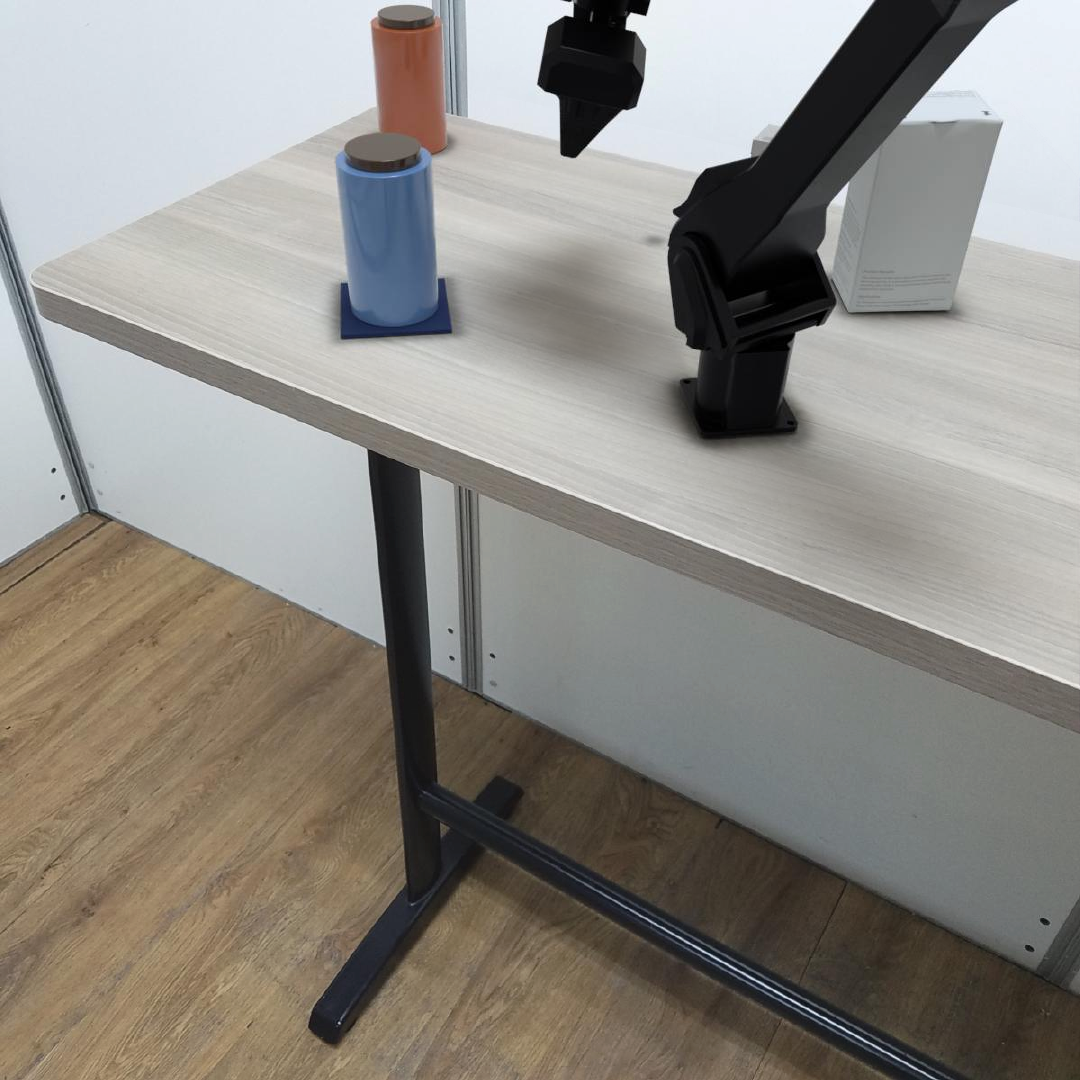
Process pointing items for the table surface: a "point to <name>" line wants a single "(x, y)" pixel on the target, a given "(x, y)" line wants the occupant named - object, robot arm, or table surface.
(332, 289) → the table surface
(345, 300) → the blue mat
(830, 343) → the table surface
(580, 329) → the table surface
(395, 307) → the blue jar
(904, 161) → the cosmetic box
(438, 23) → the terracotta jar
